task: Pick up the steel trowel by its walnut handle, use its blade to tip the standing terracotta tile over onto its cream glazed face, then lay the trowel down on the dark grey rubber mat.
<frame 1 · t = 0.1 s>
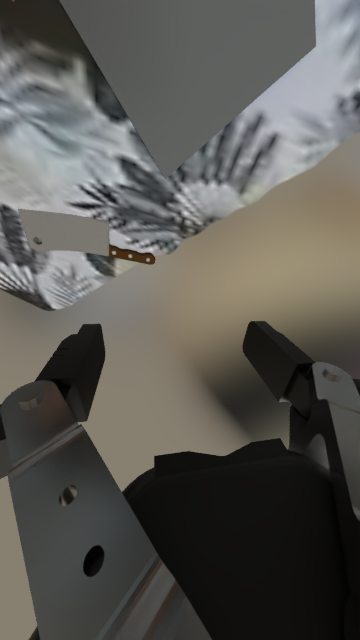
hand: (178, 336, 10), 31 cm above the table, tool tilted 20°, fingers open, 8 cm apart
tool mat: (196, 20, 20), on the table
kitchen cleaver: (96, 237, 36), on the table
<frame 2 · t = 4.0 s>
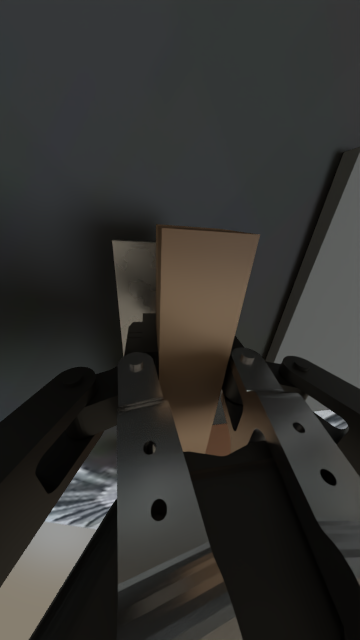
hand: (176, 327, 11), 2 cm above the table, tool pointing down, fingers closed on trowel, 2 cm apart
trowel: (170, 328, 14), on the table, touching gripper
tile: (191, 431, 21), on the table
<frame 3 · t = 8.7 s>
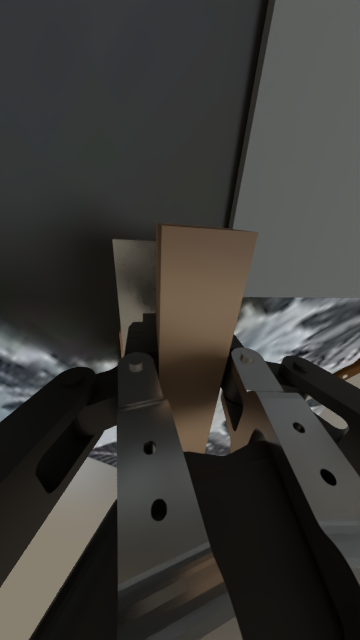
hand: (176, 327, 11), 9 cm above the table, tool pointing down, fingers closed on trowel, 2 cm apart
trowel: (170, 327, 14), point 6 cm above the table, touching gripper
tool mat: (332, 179, 17), on the table
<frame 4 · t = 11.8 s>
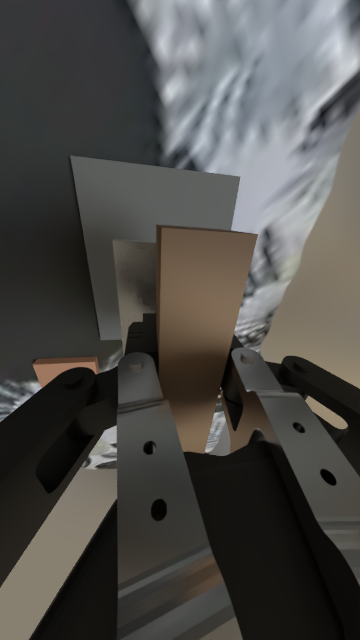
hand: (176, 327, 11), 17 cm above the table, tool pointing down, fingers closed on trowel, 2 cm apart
trowel: (170, 327, 14), point 14 cm above the table, touching gripper
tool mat: (159, 268, 26), on the table
tile: (66, 359, 30), on the table, tilted 90°
when the fingers open (4 cm above the table, at t = 14.3 s): trowel stays where it is, resting on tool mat.
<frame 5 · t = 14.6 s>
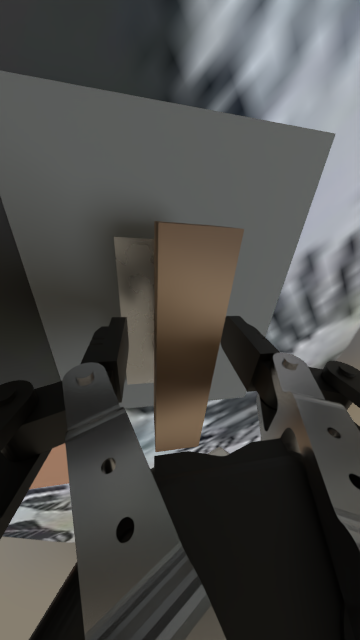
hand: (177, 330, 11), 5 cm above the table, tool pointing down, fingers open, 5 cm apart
trowel: (168, 321, 15), point 1 cm above the table, touching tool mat
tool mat: (168, 304, 15), on the table
tile: (20, 438, 19), on the table, tilted 90°
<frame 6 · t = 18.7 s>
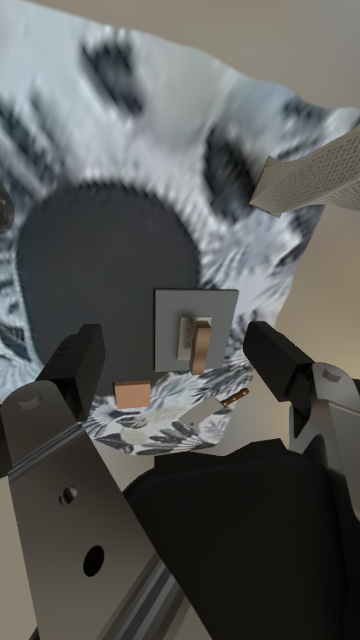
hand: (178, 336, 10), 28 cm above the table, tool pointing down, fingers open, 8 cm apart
trowel: (193, 338, 44), point 1 cm above the table, touching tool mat
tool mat: (192, 332, 44), on the table
kitchen cleaver: (211, 403, 60), on the table
tile: (133, 382, 48), on the table, tilted 90°
skyscraper: (268, 193, 33), on the table
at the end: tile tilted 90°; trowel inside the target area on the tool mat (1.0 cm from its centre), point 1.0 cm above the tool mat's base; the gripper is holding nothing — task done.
